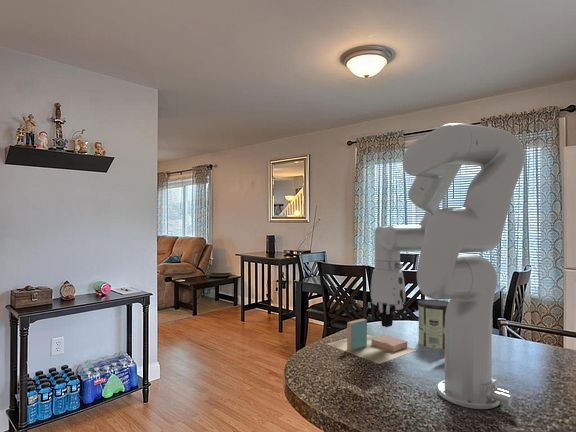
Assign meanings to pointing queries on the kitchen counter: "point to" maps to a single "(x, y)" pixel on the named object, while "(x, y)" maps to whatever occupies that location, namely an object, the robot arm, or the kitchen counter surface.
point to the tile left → (356, 334)
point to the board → (372, 351)
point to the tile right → (389, 343)
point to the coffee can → (432, 323)
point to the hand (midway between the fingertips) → (386, 325)
